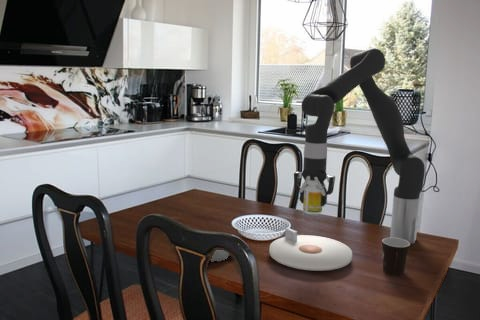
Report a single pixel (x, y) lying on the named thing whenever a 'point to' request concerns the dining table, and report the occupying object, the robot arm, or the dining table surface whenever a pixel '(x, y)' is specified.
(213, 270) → the dining table surface
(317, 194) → the supplement bottle
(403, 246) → the coffee mug
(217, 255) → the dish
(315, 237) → the disc
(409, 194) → the robot arm
